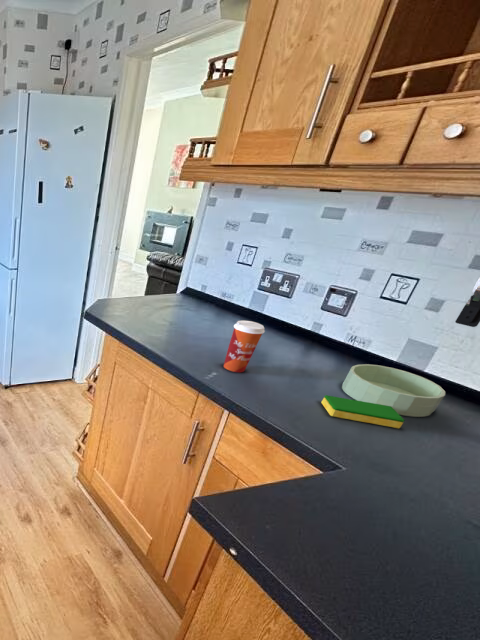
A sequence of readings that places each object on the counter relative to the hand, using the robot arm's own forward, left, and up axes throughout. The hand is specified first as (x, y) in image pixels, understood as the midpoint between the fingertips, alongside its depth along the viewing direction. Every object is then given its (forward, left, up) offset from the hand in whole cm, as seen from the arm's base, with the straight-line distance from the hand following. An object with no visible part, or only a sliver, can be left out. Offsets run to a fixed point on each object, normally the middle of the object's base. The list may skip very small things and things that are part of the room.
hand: (475, 321), depth 90 cm
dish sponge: (+6, +11, -26) cm, 29 cm away
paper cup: (+36, +16, -26) cm, 47 cm away
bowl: (+8, -6, -25) cm, 27 cm away
